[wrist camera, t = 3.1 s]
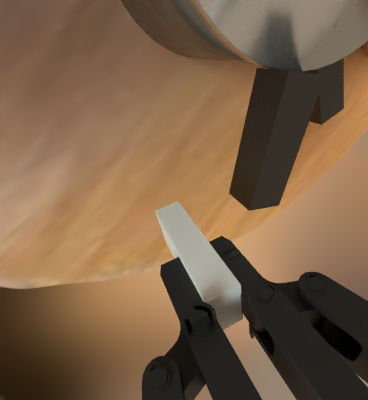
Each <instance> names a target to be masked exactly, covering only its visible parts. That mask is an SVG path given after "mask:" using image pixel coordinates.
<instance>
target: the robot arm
mask: <svg viewBox="0 0 368 400" xmlns="http://www.w3.org/2000/svg"><path fill="white" fill-rule="evenodd" d="M155 211H156V214H157V217H158V220H159V223H160V226H161V229H162V232H163V235H164V238H165V240H166V243H167V245H168V247H169V249H170V250H171V252H172V254H173V256H174V258H175V259H173V260H171V261H169V262H167V263H165V264H163V265H161V274H160V275H161V278H162V280H163V282H164V285H165V287H166V289H167V292H168V294H169V297H170V299H171V301H172V304H173V306H174V308H175V311H176V313H177V316H178V318H179V320H180V326H181V330H180V335H179V338H178V340H177V342H176V343H175V344H174V346H173V347H172V348H171V349H170V350H169V351H168V352H167V354H166V355H165V356H159V357H157V358H155V359H153V360H152V361H151V362H150V363H149V364H148V365H147V367H146V369H145V371H144V373H143V379H142V400H194V399H195V397H196V396H197V395H198V393H199V392H200V391H201V389H202V388H203V387H204V385H205V384H206V385H207V387H208V390H209V392H210V394H211V397H212V399H213V400H262V399H261V397H260V395H259V393H258V392H257V390H256V388H255V386H254V385H253V383H252V381H251V379H250V377H249V376H248V374H247V372H246V371H245V369H244V367H243V365H242V363H241V361H240V360H239V358H238V356H237V355H236V353H235V351H234V349H233V347H232V346H231V344H230V342H229V340H228V339H227V337H226V335H225V333H224V331H223V330H224V329H226V328H228V327H229V326H231V325H233V324H234V323H236V322H238V321H240V320H242V319H243V314H244V316H245V317H246V319H247V320H248V321H249V332H250V335H251V338H254V336H255V337H256V339H257V340H258V342H259V343H260V345H261V346H262V348H263V349H264V351H265V352H266V354H267V355H268V357H269V359H270V360H271V362H272V363H273V365H274V366H275V368H276V369H277V370H278V372H279V374H280V375H281V377H282V378H283V380H284V381H285V383H286V384H287V386H288V387H289V389H290V390H291V392H292V393H293V395H294V396H295V398H296V399H297V400H368V387H367V386H366V385H365V384H364V383H363V382H362V381H361V379H360V378H359V377H358V376H360V377H361V378H362V379H363V380H364V381H366V382H367V383H368V301H366V300H365V299H363V298H361V297H360V296H358V295H357V294H355V293H353V292H352V291H350V290H348V289H346V288H345V287H343V286H342V285H340V284H338V283H337V282H335V281H333V280H332V279H330V278H329V277H327V276H325V275H323V274H321V273H318V272H306V273H304V274H303V275H301V276H300V278H299V280H298V281H294V282H288V283H273V282H270V281H268V280H266V279H264V278H263V277H262V276H261V275H260V274H259V273H258V272H257V271H256V269H255V268H254V267H253V266H252V265H251V264H250V263H249V261H248V260H247V259H246V258H245V257H244V256H243V255H242V254H241V252H240V251H239V250H238V249H237V248H236V247H235V245H234V244H233V243H232V242H231V241H230V240H228V239H226V238H224V237H223V236H221V237H219V238H216V239H214V240H212V241H210V242H208V240H207V239H206V238H205V236H204V235H203V234H202V232H201V231H200V230H199V228H198V227H197V226H196V224H195V223H194V222H193V220H192V219H191V218H190V216H189V215H188V214H187V212H186V211H185V210H184V208H183V207H182V206H181V204H180V203H179V202H178V201H177V202H175V203H172V204H170V205H167V206H165V207H163V208H160V209H158V210H155ZM354 372H355V373H356V374H357V375H358V376H357V375H356V374H355V373H354Z"/></svg>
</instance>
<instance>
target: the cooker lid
mask: <svg viewBox="0 0 368 400" xmlns="http://www.w3.org/2000/svg"><path fill="white" fill-rule="evenodd" d="M188 1H189V3H190V4H191V6H192V8H193V9H194V11H195V13H196V14H197V15H198V16H199V18H200V19H201V20H202V22H203V23H204V24H205V25H206V27H207V28H208V29H209V30H210V32H211V33H212V34H213V35H214V36H215V37H216V38H217V39H218V40H219V41H220V42H221V43H222V44H223V45H224V46H226V47H227V48H228V49H229V50H230V51H232V52H233V53H235V54H236V55H238V56H239V57H241V58H242V59H243V60H246V61H248V62H250V63H252V64H255V65H257V66H259V67H263V68H257V71H256V75H255V80H254V84H253V88H252V93H251V97H250V102H249V106H248V111H247V115H246V120H245V124H244V129H243V133H242V138H241V142H240V147H239V151H238V156H237V160H236V165H235V169H234V173H233V178H232V182H231V187H230V191H229V193H230V194H231V195H232V196H233V197H234V198H235V199H236V200H238V201H239V202H240V203H241V204H242V205H243V206H244V207H246V208H247V209H248V210H249V211H250V210H255V209H261V208H267V207H272V206H278V205H279V203H280V201H281V198H282V195H283V192H284V189H285V187H286V184H287V181H288V178H289V176H290V173H291V170H292V167H293V164H294V162H295V159H296V156H297V153H298V151H299V148H300V145H301V142H302V139H303V137H304V134H305V131H306V128H307V125H308V123H309V120H310V117H311V114H312V112H313V109H314V106H315V103H316V100H317V98H318V95H319V92H320V89H321V87H322V84H323V81H324V78H325V75H319V74H311V73H303V72H295V71H308V70H314V69H319V68H321V67H324V66H327V65H330V64H333V63H335V62H337V61H338V60H340V59H342V58H344V57H346V56H348V55H349V54H351V53H352V52H354V51H355V50H356V49H358V48H359V47H361V46H362V45H363V44H365V43H366V42H367V41H368V0H188ZM264 68H268V69H264Z"/></svg>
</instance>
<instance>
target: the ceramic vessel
mask: <svg viewBox="0 0 368 400" xmlns="http://www.w3.org/2000/svg"><path fill="white" fill-rule="evenodd" d="M362 48H363V50H364V52H365V54H366V55H367V56H368V41H367V42H366V43H365V44H363V45H362Z"/></svg>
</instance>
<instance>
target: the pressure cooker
mask: <svg viewBox="0 0 368 400" xmlns="http://www.w3.org/2000/svg"><path fill="white" fill-rule="evenodd" d="M121 1H122V3H123V4H124V6H125V8H126V9H127V11H128V12H129V13H130V15H131V16H132V17H133V19H134V20H135V21H136V23H137V24H138V25H139V26H140V27H141V28H142V29H143V30H144V31H145V32H146V34H148V35H149V36H150V37H151V38H152V39H154V40H155V41H156V42H157V43H159V44H160V45H162V46H163V47H165V48H166V49H168V50H170V51H172V52H175V53H177V54H179V55H183V56H187V57H193V58H207V59H225V60H243V59H242V58H241V57H239V56H238V55H236V54H235V53H233V52H232V51H230V50H229V49H228V48H227V47H226V46H224V45H223V44H222V43H221V42H220V41H219V40H218V39H217V38H216V37H215V36H214V35H213V34H212V33H211V32H210V30H209V29H208V28H207V27H206V25H205V24H204V23H203V22H202V20H201V19H200V18H199V16H198V15H197V14H196V13H195V11H194V9H193V8H192V6H191V4H190V3H189V1H188V0H121ZM244 61H246V60H244ZM299 72H303V73H311V74H319V75H325V78H324V81H323V84H322V87H321V89H320V92H319V95H318V98H317V100H316V103H315V106H314V109H313V112H312V114H311V117H310V120H309V121H311V122H314V123H318V124H321V125H322V124H323V123H325V122H326V121H327V120H329V119H330V118H331V117H333V116H334V115H335V114H337V113H338V112H339V111H341V110H342V109H343V108H344V85H343V58H342V59H340V60H338V61H337V62H335V63H333V64H330V65H327V66H324V67H321V68H319V69H314V70H308V71H299Z"/></svg>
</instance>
